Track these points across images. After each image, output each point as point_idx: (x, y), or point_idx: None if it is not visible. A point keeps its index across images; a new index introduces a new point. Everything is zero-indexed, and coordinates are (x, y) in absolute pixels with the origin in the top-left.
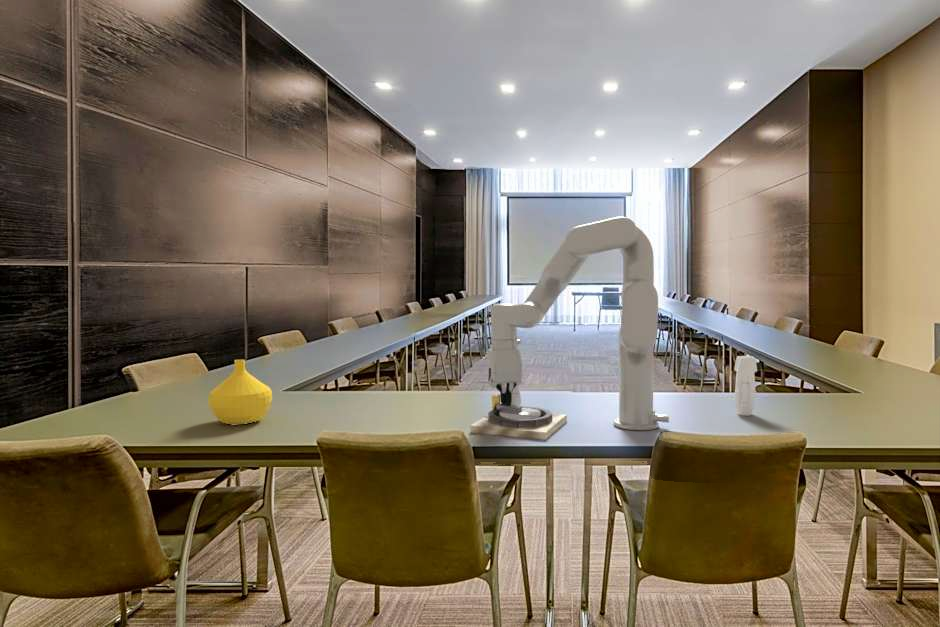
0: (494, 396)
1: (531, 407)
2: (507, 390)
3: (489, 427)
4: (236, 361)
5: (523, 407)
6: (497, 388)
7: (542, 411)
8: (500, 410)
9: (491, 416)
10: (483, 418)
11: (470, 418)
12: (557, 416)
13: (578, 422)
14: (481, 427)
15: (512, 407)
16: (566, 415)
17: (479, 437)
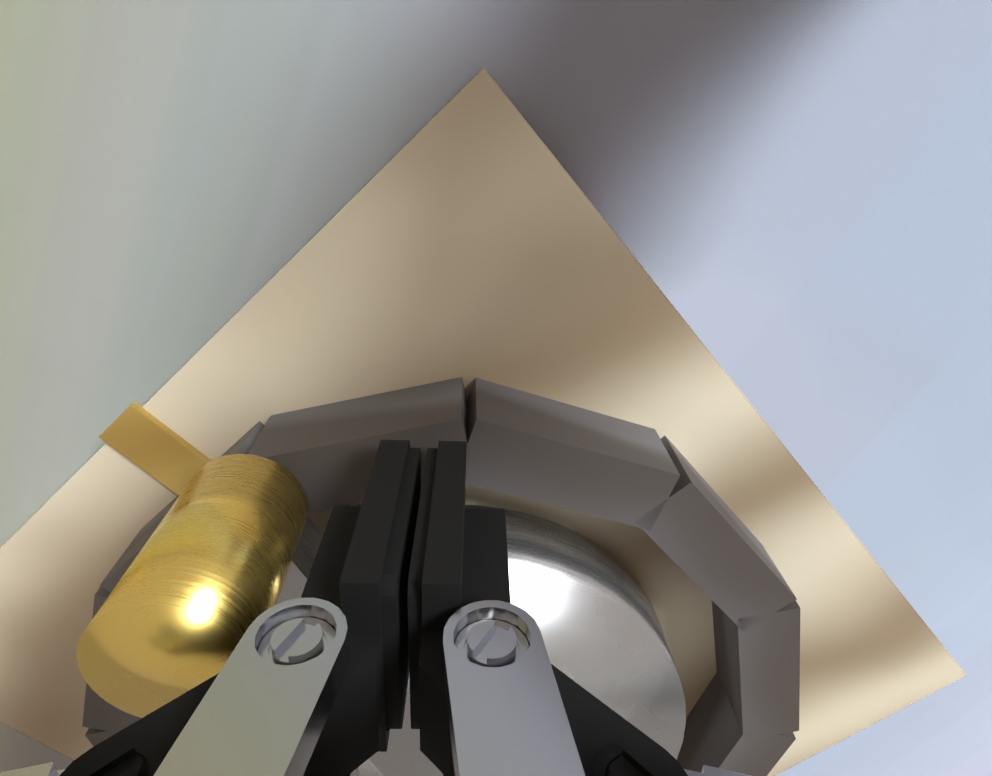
0: (119, 698)
1: (740, 580)
2: (420, 740)
3: (75, 756)
4: None
5: (656, 540)
6: (168, 737)
7: (736, 710)
8: (319, 503)
9: (89, 740)
10: (87, 483)
11: (25, 29)
12: (844, 692)
13: (967, 676)
14: (6, 713)
15: (373, 759)
16: (951, 678)
17: (4, 735)
